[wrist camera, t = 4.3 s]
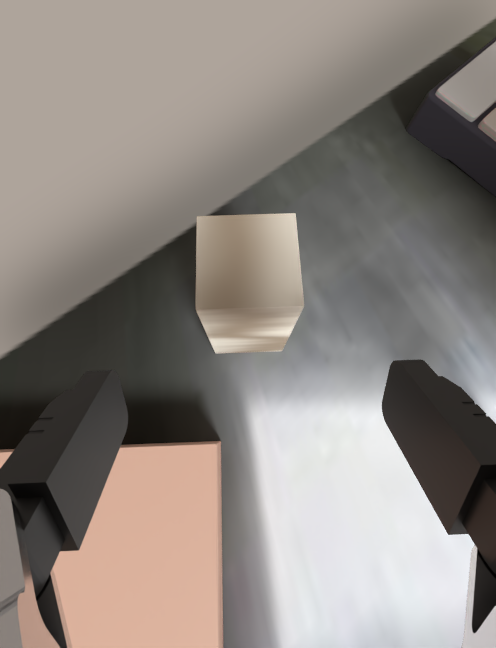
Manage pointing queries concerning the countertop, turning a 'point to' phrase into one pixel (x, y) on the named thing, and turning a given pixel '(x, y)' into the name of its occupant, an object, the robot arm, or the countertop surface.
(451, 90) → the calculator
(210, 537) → the plinth
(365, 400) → the countertop surface
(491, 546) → the robot arm
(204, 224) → the ash block
